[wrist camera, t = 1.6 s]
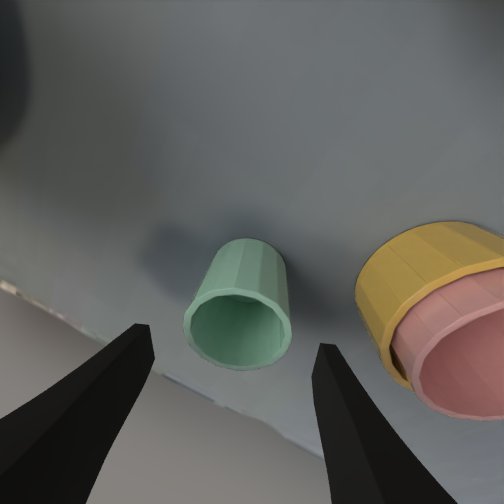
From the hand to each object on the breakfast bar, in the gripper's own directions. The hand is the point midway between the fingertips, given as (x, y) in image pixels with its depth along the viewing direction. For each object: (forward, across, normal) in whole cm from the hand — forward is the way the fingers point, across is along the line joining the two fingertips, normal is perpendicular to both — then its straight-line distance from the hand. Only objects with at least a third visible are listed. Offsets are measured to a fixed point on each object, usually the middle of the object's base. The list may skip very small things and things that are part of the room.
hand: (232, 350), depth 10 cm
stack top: (+7, -12, 0) cm, 13 cm away
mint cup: (+7, 0, 0) cm, 7 cm away
